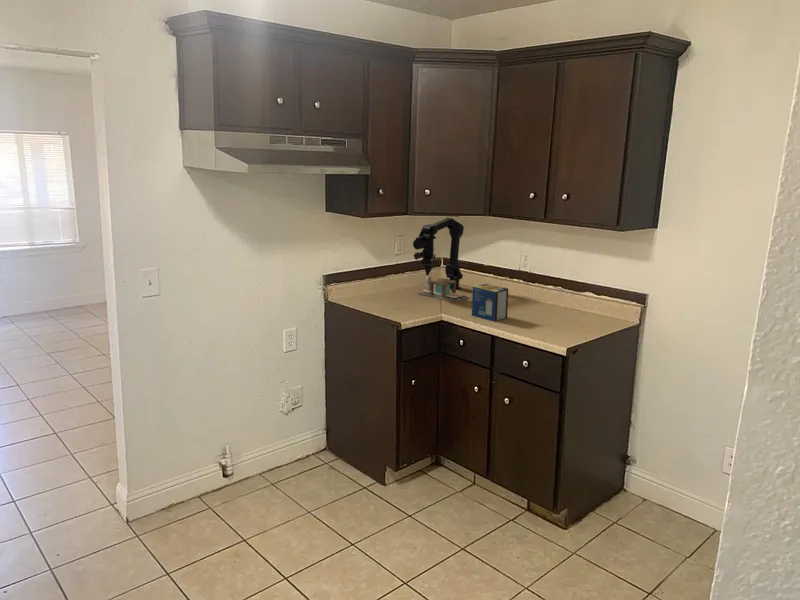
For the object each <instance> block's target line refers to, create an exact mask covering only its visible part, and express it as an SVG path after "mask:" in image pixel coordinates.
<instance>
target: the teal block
mask: <svg viewBox="0 0 800 600" xmlns="http://www.w3.org/2000/svg"><path fill="white" fill-rule="evenodd" d="M435 290H436V293H439V294H442V285H438V284H435ZM450 292H451V289H450V284H448V285H446V293H445V294H447V293H450Z"/></svg>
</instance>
